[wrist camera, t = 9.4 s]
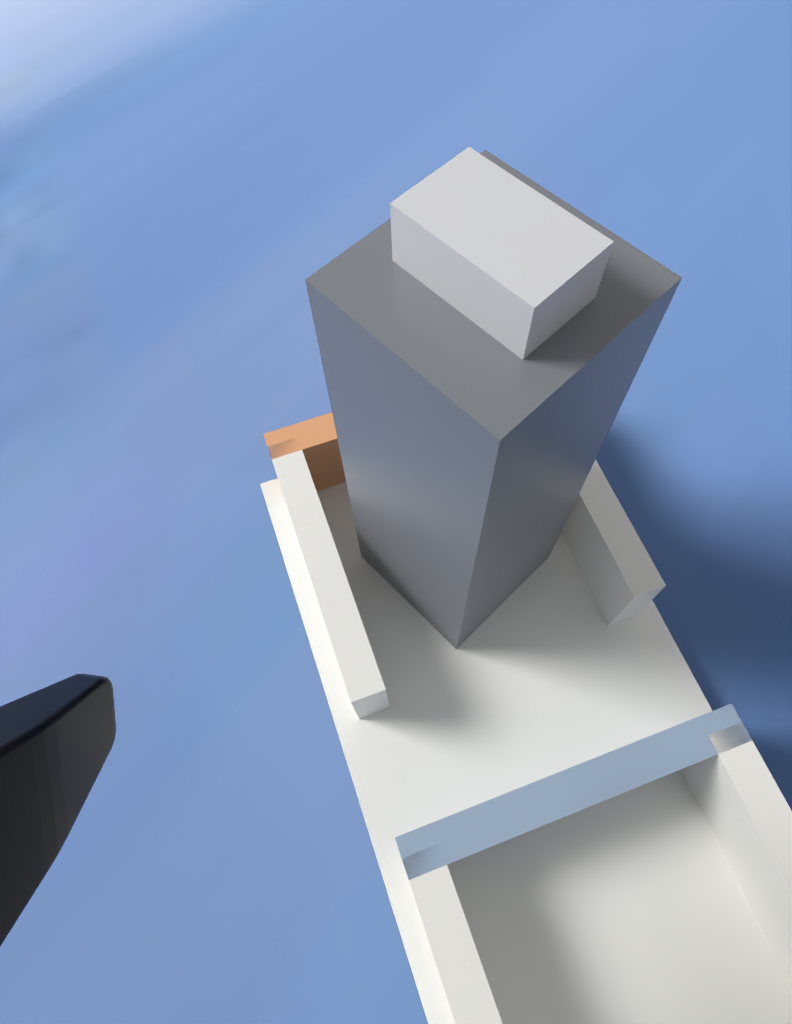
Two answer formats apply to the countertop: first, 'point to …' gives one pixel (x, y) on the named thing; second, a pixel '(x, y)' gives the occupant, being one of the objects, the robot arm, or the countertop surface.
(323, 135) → the countertop surface
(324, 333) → the grey pedestal with block
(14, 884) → the robot arm
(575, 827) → the white tray with rails
